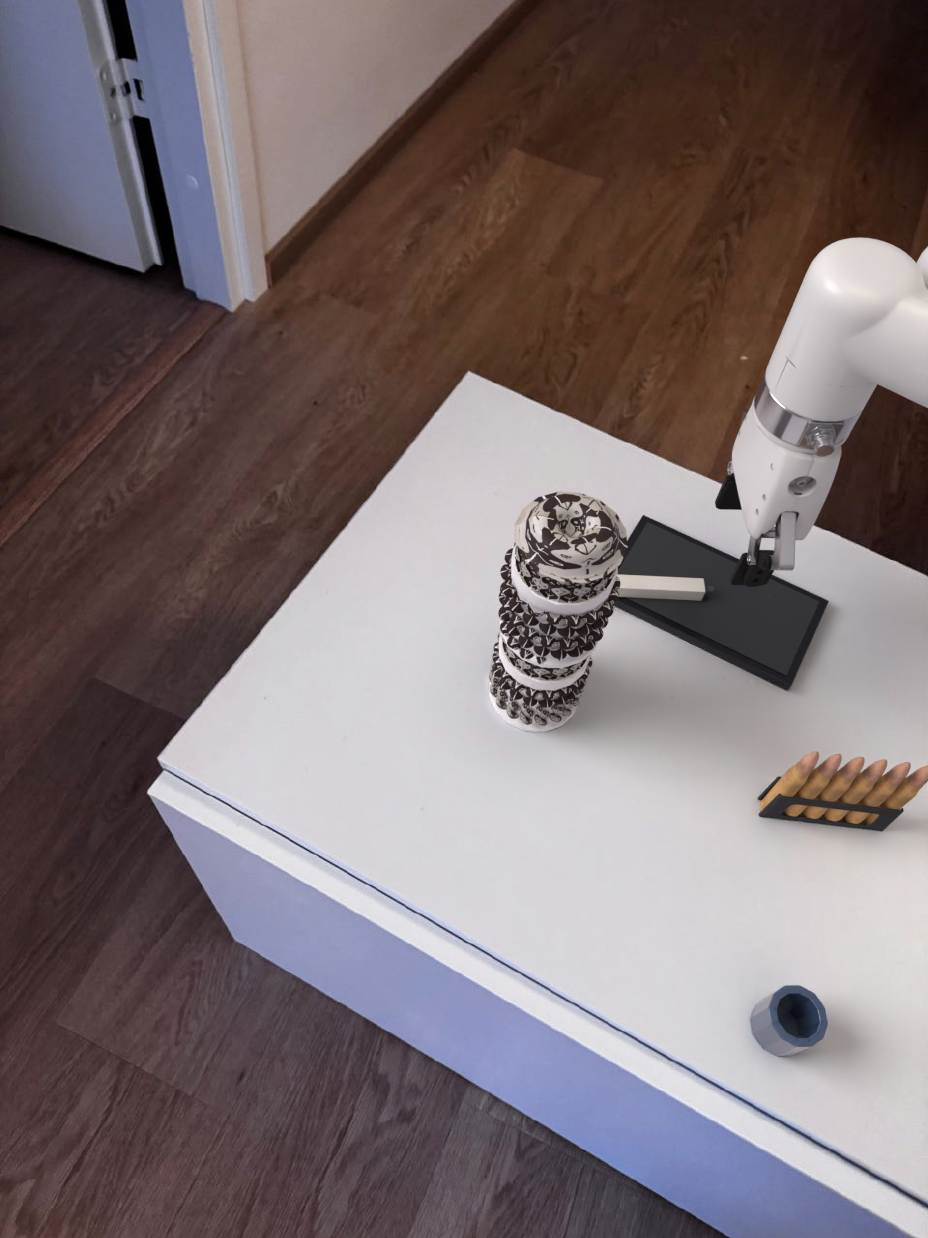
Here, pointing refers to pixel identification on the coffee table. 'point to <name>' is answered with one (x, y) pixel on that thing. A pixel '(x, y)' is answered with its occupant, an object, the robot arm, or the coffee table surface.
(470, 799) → the coffee table surface
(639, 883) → the coffee table surface
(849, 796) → the ammunition clip
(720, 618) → the tablet
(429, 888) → the coffee table surface
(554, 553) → the decorative candle
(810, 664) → the coffee table surface
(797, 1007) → the holder
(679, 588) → the stylus
